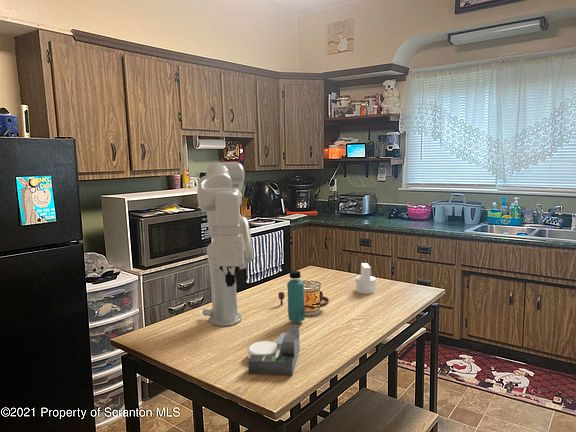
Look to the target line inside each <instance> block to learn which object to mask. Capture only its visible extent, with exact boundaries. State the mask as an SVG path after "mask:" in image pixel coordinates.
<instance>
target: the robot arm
mask: <svg viewBox="0 0 576 432" xmlns="http://www.w3.org/2000/svg"><path fill="white" fill-rule="evenodd" d="M245 174H246V173H245V168H244V166H243V165H242V163H240V162H238V161H226V162H225V161H220V162H219V161H218V162H212V163H211V164H209V165H208V166H207V168H206V170H205V175H204V176H202V177H200V178H199V179H198V183H197V190H196V196H197V203H198V206H199V208H200V210H201V211H203V212H206V218H207V228H208V233H209V237H210V239H211V240H213V241H212V242H210V243H209V244H208V245H207V247H206V255H207V261H208V265H209V272H210V273H209V275H210V287H211V305H212V308H210V309H208V308H203V309H202V314H203V316H204V317H205V316H206V317H207V316H209V318H208V323H209V324H210V325H213V326H215V327H228V326H232V325H236V324H238V323H240V322H241V321H242V319H243V317H242V316H243V315H241V313H239V312H238V301H237V300H238V297H237V296H238V295H237V294H238V293H237V279H236V273H237V272H238V271H239V270H245V269H246V268H247V264H248V263H251V262H252V261H253V259H254V246H253V241H252V236H251V230H250V224H249V220H248V219H247V217H245V216H243V215H241V214H240V207H241V205H242V203H243V196H242V192H241V191H242V188H243V186H244V181H245Z"/></svg>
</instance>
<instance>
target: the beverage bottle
mask: <svg viewBox="0 0 576 432" xmlns="http://www.w3.org/2000/svg"><path fill="white" fill-rule="evenodd" d="M289 278H290V280H289V281H288V282H287V283H286V286H287V316H288V320H289V321H290V322H294V323H299V322H303V321H305V319H306V310H305V309H306V306H305V305H304V303H306V302H305V301H304V297H305V289H304V288H305V287H304V284H305V283H304V281H303V280H302V279H300V278H301V272H300V271H299V270H291V271H289Z"/></svg>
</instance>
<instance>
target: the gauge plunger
mask: <svg viewBox="0 0 576 432" xmlns="http://www.w3.org/2000/svg"><path fill="white" fill-rule="evenodd" d="M286 336H287V333H286V332H281V333H280V335H279V338H278V340H277V343H276V344H277V353H276V355H275V358H278V356H285V354H284V341H285V338H286Z"/></svg>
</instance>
